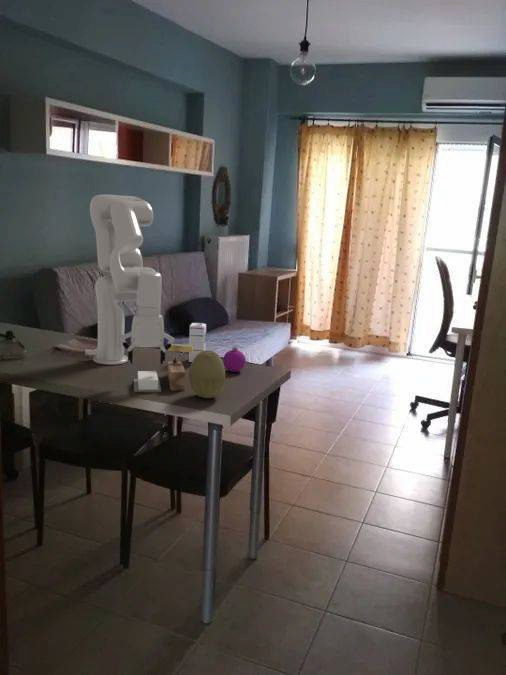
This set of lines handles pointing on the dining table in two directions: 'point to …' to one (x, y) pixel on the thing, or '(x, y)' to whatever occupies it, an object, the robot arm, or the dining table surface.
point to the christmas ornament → (234, 360)
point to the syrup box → (197, 339)
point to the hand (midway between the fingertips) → (146, 362)
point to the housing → (176, 375)
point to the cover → (147, 380)
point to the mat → (145, 390)
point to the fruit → (207, 374)
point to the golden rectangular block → (179, 350)
